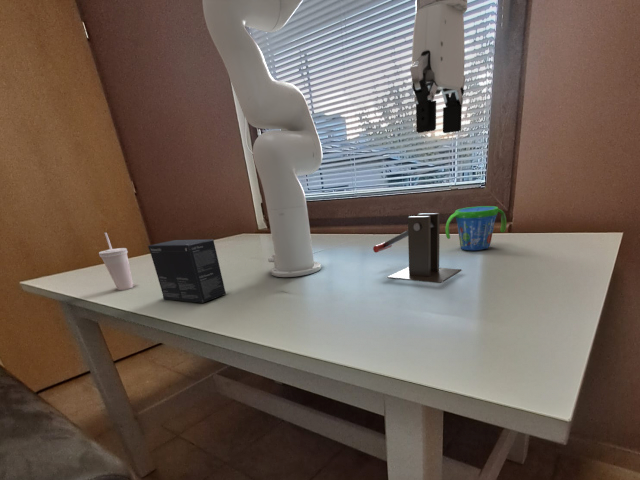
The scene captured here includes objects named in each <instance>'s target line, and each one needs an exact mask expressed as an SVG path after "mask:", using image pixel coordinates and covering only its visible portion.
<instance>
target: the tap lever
mask: <svg viewBox="0 0 640 480" xmlns="http://www.w3.org/2000/svg"><path fill="white" fill-rule="evenodd" d="M428 216H430V215H428ZM432 227H434V224H433V221H432V219H431V228H432ZM407 237H408V229H407V230H405V231H404V232H402V233H399V234H398V235H396V236H394V237H393V238H390V239H388V240H387V241H383V242H382V243H379V244H376V245H374V246H373V248H372V250H373V252H374V253H379V252H382V251H384V250H388V249H390V248H392V246H393V245H394V244H396V243H398V242H400V241H402V240H404V239H405V238H407Z"/></svg>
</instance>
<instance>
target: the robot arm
mask: <svg viewBox="0 0 640 480" xmlns="http://www.w3.org/2000/svg"><path fill="white" fill-rule="evenodd" d="M201 1H202V12H203V17H204V20H205V21H204V22H205V25H206V28H207V30H208V34H209V35H210V38H211V40H212V42H213V44H214V47H215V48H216V50H217V53H218V54H219V57H220V58H221V60H222V62H223V64H224V67H225V69H226V72H227V75H228V77H229V80H230V83H231V85H232V88H233V91H234V94H235V96H236V98H237V101H238V104H239V107H240V109H241V111H242V114H243V117H244V118H245V120H246V122H247V123H248V124H249V125H250V126H251V127H253V128H256V129H262V130H268V131H264V132H263V133H260V134H259V135H258V136H257V137H256V139H255V140H254V143H253V146H252V158H253V162H254V166H255V168H256V171H257V174H258V176H259V177H258V178H259V180H260V184H261V186H262V192H263V196H264V201H265V206H266V211H267V217H268V223H269V229H270V234H271V241H272V246H273V247H272V248H273V251H274V252H273V253H272V254H271V256H269V257H268V258H267V262H269V263H273V265H274V267H273V268H271V271H270V272H271V275H272V276H273V277H277V278H294V277H303V276H307V275H311V274H314V273H316V272H319V271H320V270H321V268H322V266H321V263H320V262H318V261H315V259H314V252H313V243H312V236H311V235H312V234H311V227H310V221H309V213H308V205H307V197H306V193H305V190H304V188H303V186H302V183H301V182H300V179H299V178H298V177H300V176H307V175H312V174H315V173H316V172H317V171H318V170H319V169H320V167H321V166H322V162H323V148H322V143H321V140H320V136H319V134H318V131H317V128H316V125H315V122H314V119H313V116H312V113H311V110H310V107H309V105H308V102H307V100H306V98H305V96H304V94H303V92H301V90H300V89H299V88H298V87H297V86H296V85H294V84H293V83H290V82H286V81H282V80H276V79H275V78H274V77H273V76H272V74H271V72H270V71H269V68H268V65H267V62H266V60H265V57H264V54H263V52H262V50H261V48H260V46H259V45H258V43H257V42H256V40H255V39H254V38H253V36H252V35H251V34H250V33H249V32H248V30H247V28H250V29H253V30H257V31H261V32H263V33H264V32H265V33H276V32H279V31H280V30H281V29H283V28H284V27H285V26H286V25H287V23H288V21H289V20H290V19H291V18H292V17H293V15H294V13H295V12H296V11H297V9H298V8H299V7H300V5H301V4H302V3H303V1H304V0H201ZM467 11H468V0H415V16H414V23H413V30H412V31H413V34H412V48H411V65H410V68H409V70H410V76H411V87H412V90H413V93H414V97H413V98H414V99H413V100H414V101H413V102H414V104H415V113H416V114H415V124H416V125H415V127H416V129H415V130H416V131H415V132H416V133H418V134H421V133H428V132H434V131H436V129H437V100H434V99H435V96H437V95H440V94H441V96H442V98H443V102H444V105H445V106H444V107H443V108H442V133H443V134H450V133H456V132H457V133H458V132H460V131H461V130H462V111H463V110H462V109H463V103H464V99H463V96H464V94H465V84H466V76H465V59H466V58H465V52H466V51H465V50H466V49H465V22H464V21H465V20H464V14H465V13H466V12H467ZM246 27H247V28H246Z"/></svg>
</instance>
